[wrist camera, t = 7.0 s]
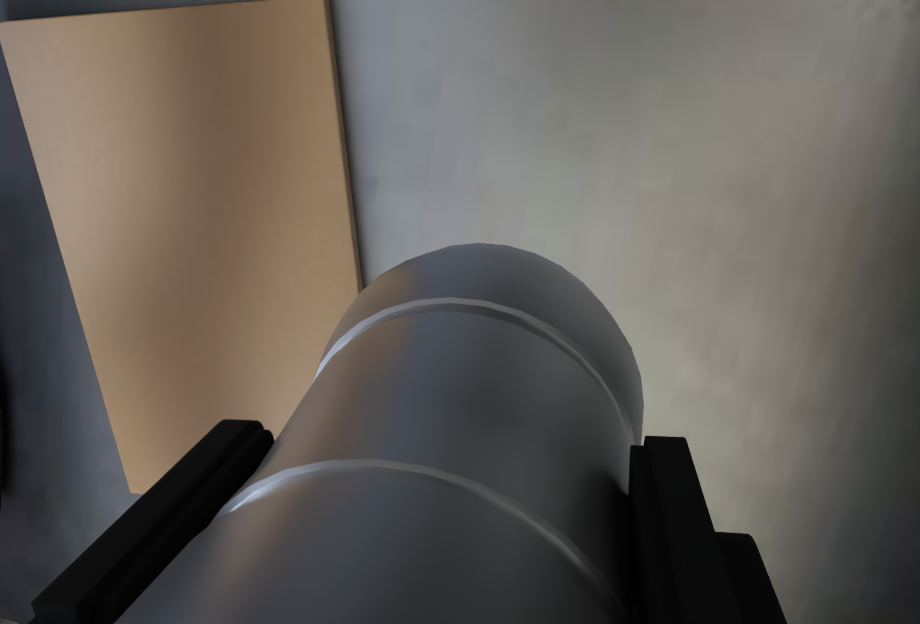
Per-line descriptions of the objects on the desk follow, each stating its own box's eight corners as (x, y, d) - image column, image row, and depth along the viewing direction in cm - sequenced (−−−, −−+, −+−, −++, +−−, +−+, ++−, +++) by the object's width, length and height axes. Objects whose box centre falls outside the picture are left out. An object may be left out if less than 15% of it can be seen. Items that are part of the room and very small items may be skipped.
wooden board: (329, -5, 19) (323, -6, 18) (388, 500, 25) (384, 508, 25) (6, 22, 21) (-7, 21, 20) (137, 486, 27) (130, 494, 27)
